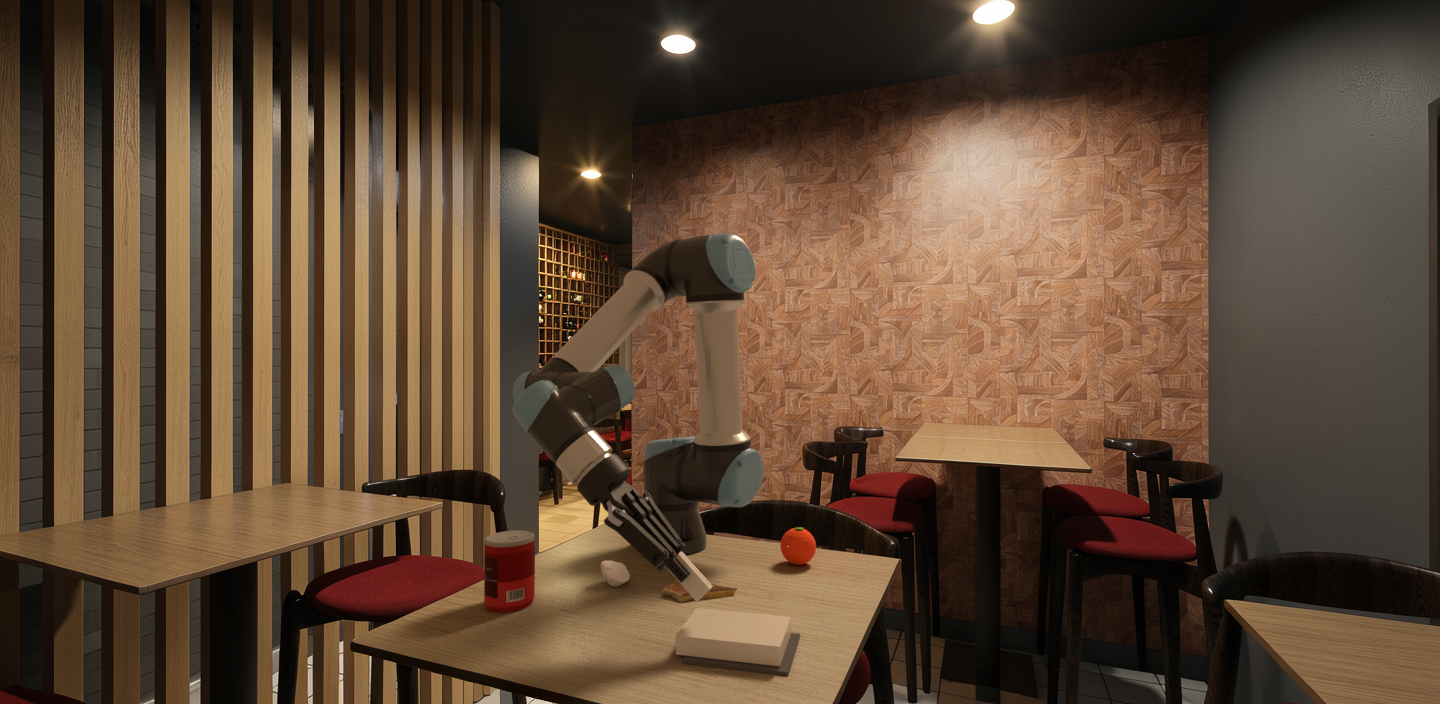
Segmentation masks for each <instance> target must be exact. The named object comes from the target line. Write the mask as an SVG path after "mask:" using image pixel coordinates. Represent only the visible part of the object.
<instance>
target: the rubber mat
mask: <svg viewBox="0 0 1440 704" xmlns="http://www.w3.org/2000/svg"><path fill="white" fill-rule="evenodd" d="M800 639H801V633H797V632H791V636H790V639H789V642H788V645H787V648H786V651H785V654H784V657H783V660H782V663H781V666H771V665H763V664H754V663H745V662H737V661H728V660H719V659H711V658H702V657H694V656H685V655H683V656H684V657H683V658H682V659H681V663H682V664H688V665H694V666H695V665H696V666H704V667H713V668H720V669H729V670H736V671H737V670H738V671H746V672H755V673H763V674H771V675H772V674H773V675H780V676H789V675H790V671H791V668H792V664H793V661H794V658H795V655H796V651H797V649H798V644H799V641H800Z"/></svg>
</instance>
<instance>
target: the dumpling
mask: <svg viewBox="0 0 1440 704" xmlns="http://www.w3.org/2000/svg"><path fill="white" fill-rule="evenodd" d="M600 572H601V575H602V577H603V578H604V579H605V581H606V582H607V583H608V584H609V585H610V586H612V587H615V588H617V587H619V586H621V585H623V584H625V583H627V582H629V580H630V578H631V574H630V572H629V571H628V569H627V567H626V565H625V564H624V563H622V562H618V561H614V560H603V561H602V562H600Z"/></svg>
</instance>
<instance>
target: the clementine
mask: <svg viewBox="0 0 1440 704" xmlns="http://www.w3.org/2000/svg"><path fill="white" fill-rule="evenodd" d="M816 542H817V541H816V540H815V537H814V536H813V535H812V534H811V532H809V531H808V529H805V528H804V527H800V526H799V527H798V526H797V527H794V528H791V529H789V530H787V531H786V532H785V533H784V534H783V536H782V538H781V540H780V546H779V547H780V552H781V553H782V556H783V557H784V559H785V560H786V561H787V562H789V563H790V564H793V565H798V566H801V565H806V564H808V563H809V562H810V561H812V559H813V558H814V557H815V554H816V550H817V543H816ZM787 546H789V547H787Z"/></svg>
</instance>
